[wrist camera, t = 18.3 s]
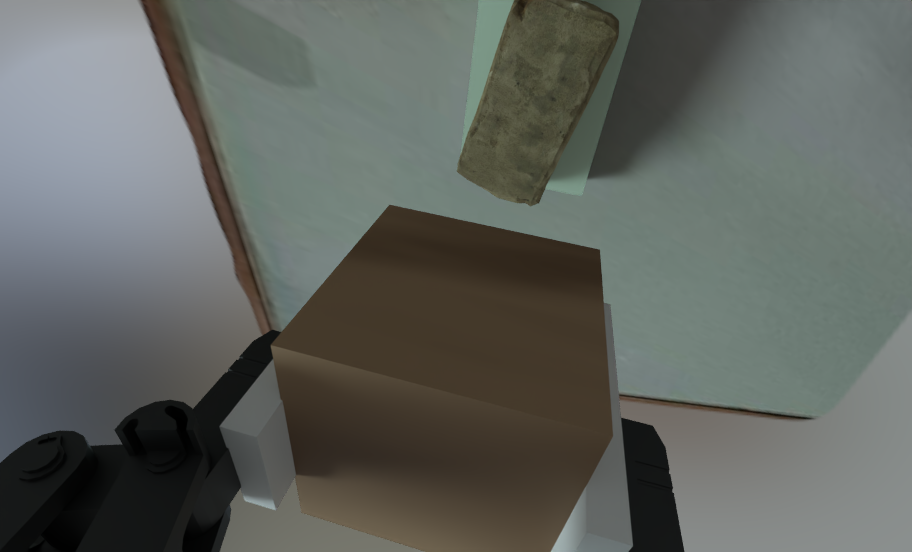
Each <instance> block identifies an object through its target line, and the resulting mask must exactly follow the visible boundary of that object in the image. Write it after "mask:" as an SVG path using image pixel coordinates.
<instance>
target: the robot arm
mask: <svg viewBox="0 0 912 552" xmlns="http://www.w3.org/2000/svg"><path fill="white" fill-rule="evenodd" d="M604 315H605V329H606V343H607V356H608V370H609V384H610V398H611V412H612V426H613V437H612V439H611V441H610V443H609V445H608V447H607V449H606V450H605V452H604V454H603V456H602V458H601V460H600V462H599V463H598V465H597V467H596V469H595V471H594V473H593V475H592V477H591V478H590V480H589V482H588V484H587V486H586V487H585V489H584V491H583V492H582V494H581V496H580V498H579V500H578V502H577V504H576V506H575V507H574V509H573V511H572V513H571V515H570V517H569V519H568V521H567V522H566V524H565V526H564V528H563V530H562V532H561V534H560V535H559V537H558V539H557V541H556V543H555V545H554V547H553V549H552V550H551V552H684V547H683V542H682V536H681V531H680V526H679V520H678V514H677V509H676V503H675V498H674V493H672V489H673V487H672V481H671V476H670V474H669V465H668V459H667V455H666V448H665V446H664V444H663V443H662V441H661V439H660V437H659V436H658V434H657V432H656V431H655V429H654V427H653V426H651V425H647V424H644V423H640V422H636V421H632V420H628V419H624V418H621V414H620V403H619V392H618V381H617V371H616V360H615V350H614V339H613V328H612V318H611V307H610V304H606V303H604ZM280 333H281V332H279V331H275V330H271V331H269V332H268V333H266V334H264V335H263V336H261V337H259V338H258V339H256V340H254V341H253V342H252V343H251V344H250V345H249V347H248V348H247V349H246V350H245V351H244V352H243V354H241V356H240V358H239V360H236V361H235V362H234V363H233V365H232V366H231V367H230V368H229V369H228V372H227V373H225V374H224V375H223V376H222V377H221V378H220V379H219V380H218V381H217V383H216V384H215V385H214V386H213V387H212V388H211V389H210V391H209V392H208V393H207V394H206V395H205V396H204V397H203V398H202V399H201V401H200V402H199V403H198V404H197V405H196V406H195V407H194V409H192V408H191V407H190V406H188V405H187V404H185V403H184V402H179V401H174V400H167V401H159V402H154V403H151V404H149V405H146V406H144V407H141V408H139V409H137V410H136V411H134V412H133V413H131V414H130V415H128V416H127V417H126V418H125V419H124V420H123V421H122V422H121V423H120V424H119V425H118V426H117V428H116V429H115V432H116V433H117V435H118V437H119V439H120V440H121V442H122V444H123V445H99V446H90V445H89V444H88V442H87V440H86V439H85V437H84V436H83V435H81V434H79V433H77V432H74V431H56V432H52V433H48V434H44V435H41V436H39V437H37V438H35V439H33V440H31V441H28V442H26V443H25V444H24V445H22V446H21V447H19V448H18V449H17V450H15V451H14V452H13V453H11V454H10V455H9V456H8V457H6V458H5V459H4V460H3V461H2V462H1V463H0V552H219V551H220V548H221V545H222V542H223V539H224V536H225V533H226V530H227V527H228V524H229V521H230V514H231V508H230V505H229V504H230V503H231V501H232V500H233V498H234V497H235V495H236V494H237V492H238V491H239V489H240V488H241V491H242V494H243V497H244V500H245V501H247V502H251V503H254V504H257V505H260V506H263V507H267V508H270V509H273V510H277V508H278V506H279V504H280V503H281V501H282V499H283V497H284V495H285V494H286V492H287V490H288V489H289V487H290V485H291V483H292V481H293V480H294V478H295V476H296V472H295V466H294V461H293V455H292V450H291V444H290V439H289V433H288V428H287V422H286V417H285V411H284V406H283V401H282V400H281V398H280V393H279V388H278V382H277V377H276V372H275V366H274V361H273V355H272V350H271V344H272V343H273V342H274V340H275V339H276V338H277V337H278V336H279V335H280Z"/></svg>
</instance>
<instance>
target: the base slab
mask: <svg viewBox="0 0 912 552" xmlns="http://www.w3.org/2000/svg"><path fill="white" fill-rule="evenodd" d="M513 1H514V0H479V5H478V14H477V22H476V30H475V39H474V47H473V55H472V64H471V72H470V81H469V89H468V97H467V106H466V114H465V122H464V131H463V139H462V147H461V152H462V149H463V146H464V143H465V140H466V137H467V134H468V131H469V129H470V126H471V124H472V121H473V119H474V116H475V114H476V111H477V108H478V105H479V102H480V99H481V96H482V93H483V90H484V87H485V84H486V81H487V78H488V75H489V72H490V68H491V65H492V62H493V59H494V56H495V53H496V50H497V47H498V44H499V41H500V38H501V35H502V32H503V29H504V26H505V23H506V20H507V17H508V15H509V12H510V9H511V7H512V4H513ZM582 1H586V2H589V3H591V4H594V5H596V6H598V7H599V8H601V9H602V10H604V11H606V12H609V13H612V14H613V15H614V16H615V17H616V18H617V19H618V20H619V36H618V40H617V42H616V45H615V48H614V50H613V52H612V54H611V56H610V58H609V60H608V62H607V64H606V66H605V68H604V70H603V72H602V75H601V77H600V79H599V82H598V84H597V86H596V88H595V90H594V92H593V94H592V96H591V98H590V100H589V102H588V104H587V106H586V108H585V110H584V112H583V114H582V116H581V118H580V120H579V122H578V124H577V126H576V128H575V130H574V132H573V134H572V136H571V138H570V140H569V142H568V144H567V146H566V147H565V149H564V151H563V153H562V155H561V157H560V160H559V162H558V164H557V166H556V168H555V170H554V172H553V173H552V175H551V177H550V179H549V181H548V183H547V186H546V188H545V189H548V190H553V191H558V192H563V193H568V194H573V195H578V196H582V193H583V190H584V187H585V184H586V180H587V177H588V174H589V170H590V167H591V164H592V161H593V157H594V154H595V151H596V148H597V144H598V141H599V138H600V134H601V131H602V128H603V125H604V121H605V118H606V115H607V112H608V108H609V105H610V102H611V98H612V95H613V92H614V89H615V85H616V82H617V79H618V76H619V72H620V69H621V66H622V62H623V59H624V56H625V53H626V49H627V46H628V43H629V40H630V36H631V33H632V30H633V26H634V23H635V20H636V17H637V13H638V10H639V7H640V4H641V0H582Z"/></svg>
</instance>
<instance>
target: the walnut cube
mask: <svg viewBox="0 0 912 552" xmlns="http://www.w3.org/2000/svg"><path fill="white" fill-rule="evenodd" d="M271 350H272V355H273V361H274V366H275V372H276V377H277V382H278V388H279V393H280V398H281V400H282V401H283V406H284V411H285V417H286V422H287V428H288V433H289V439H290V444H291V450H292V455H293V461H294V466H295V472H296V476H295V479H296V485H297V490H298V495H299V501H300V506H301V511H302V513H304V514H307V515H310V516H314V517H317V518H320V519H323V520H326V521H330V522H333V523H336V524H339V525H342V526H345V527H349V528H352V529H355V530H358V531H361V532H365V533H368V534H371V535H374V536H377V537H381V538H384V539H387V540H390V541H393V542H396V543H399V544H403V545H406V546H409V547H412V548H416V549H419V550H422V551H425V552H551V550H552V549H553V547H554V545H555V543H556V541H557V539H558V537H559V535H560V534H561V532H562V530H563V528H564V526H565V524H566V522H567V521H568V519H569V517H570V515H571V513H572V511H573V509H574V507H575V506H576V504H577V502H578V500H579V498H580V496H581V494H582V492H583V491H584V489H585V487H586V486H587V484H588V482H589V480H590V478H591V477H592V475H593V473H594V471H595V469H596V467H597V465H598V463H599V462H600V460H601V458H602V456H603V454H604V452H605V450H606V449H607V447H608V445H609V443H610V441H611V439H612V437H613V426H612V412H611V398H610V384H609V370H608V356H607V343H606V329H605V315H604V301H603V287H602V273H601V259H600V250H599V249H594V248H589V247H585V246H580V245H575V244H570V243H566V242H561V241H556V240H552V239H547V238H542V237H538V236H533V235H528V234H524V233H519V232H514V231H510V230H505V229H500V228H496V227H491V226H486V225H482V224H477V223H472V222H468V221H463V220H458V219H454V218H449V217H444V216H440V215H435V214H430V213H426V212H421V211H416V210H412V209H407V208H402V207H398V206H393V205H389V206H388V207H387V209H386V210H385V211H384V212H383V213H382V214H381V216H380V217H379V218H378V219H377V220H376V222H375V223H374V224H373V225H372V226H371V227H370V229H369V230H368V231H367V232H366V233H365V234H364V236H363V237H362V238H361V239H360V240H359V242H358V243H357V244H356V245H355V246H354V247H353V249H352V250H351V251H350V252H349V253H348V254H347V256H346V257H345V258H344V259H343V260H342V262H341V263H340V264H339V265H338V266H337V267H336V269H335V270H334V271H333V272H332V273H331V275H330V276H329V277H328V278H327V279H326V280H325V282H324V283H323V284H322V285H321V286H320V287H319V289H318V290H317V291H316V292H315V293H314V295H313V296H312V297H311V298H310V299H309V300H308V302H307V303H306V304H305V305H304V306H303V308H302V309H301V310H300V311H299V312H298V313H297V315H296V316H295V317H294V318H293V319H292V320H291V322H290V323H289V324H288V325H287V326H286V328H285V329H284V330H283V331H282V332H281V333H280V335H279V336H278V337H277V338H276V339H275V340H274V342H273V343H272V344H271Z"/></svg>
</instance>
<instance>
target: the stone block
mask: <svg viewBox="0 0 912 552" xmlns="http://www.w3.org/2000/svg"><path fill="white" fill-rule="evenodd" d="M618 36H619V20H618V19H617V18H616V17H615V16H614V15H613V14H612V13H609V12H606V11H604V10H602V9H601V8H599V7H598V6H596V5H594V4H591V3H589V2H586V1H582V0H514V1H513V4H512V7H511V9H510V12H509V15H508V17H507V20H506V23H505V26H504V29H503V32H502V35H501V38H500V41H499V44H498V47H497V50H496V53H495V56H494V59H493V62H492V65H491V68H490V72H489V75H488V78H487V81H486V84H485V87H484V90H483V93H482V96H481V99H480V102H479V105H478V108H477V111H476V114H475V116H474V119H473V121H472V124H471V126H470V129H469V131H468V134H467V137H466V140H465V143H464V146H463V149H462V152H461V155H460V159H459V162H458V168H457V172H458V173H459V174H461V175H462V176H463V177H465V178H466V179H467V180H469V181H471V182H473V183H475V184H476V185H478V186H480V187H482V188H483V189H485V190H487V191H489V192H490V193H491V194H493V195H494V196H496V197H497V198H501V199H504V200H508V201H511V202H515V203H526V204H528V205H529V206H532V205H535V204H537V203H539V202H540V199H541V197H542V194H543V192H544V190H545V188H546V186H547V183H548V181H549V179H550V177H551V175H552V173H553V172H554V170H555V168H556V166H557V164H558V162H559V160H560V157H561V155H562V153H563V151H564V149H565V147H566V146H567V144H568V142H569V140H570V138H571V136H572V134H573V132H574V130H575V128H576V126H577V124H578V122H579V120H580V118H581V116H582V114H583V112H584V110H585V108H586V106H587V104H588V102H589V100H590V98H591V96H592V94H593V92H594V90H595V88H596V86H597V84H598V82H599V79H600V77H601V75H602V72H603V70H604V68H605V66H606V64H607V62H608V60H609V58H610V56H611V54H612V52H613V50H614V48H615V45H616V42H617V40H618Z"/></svg>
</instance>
